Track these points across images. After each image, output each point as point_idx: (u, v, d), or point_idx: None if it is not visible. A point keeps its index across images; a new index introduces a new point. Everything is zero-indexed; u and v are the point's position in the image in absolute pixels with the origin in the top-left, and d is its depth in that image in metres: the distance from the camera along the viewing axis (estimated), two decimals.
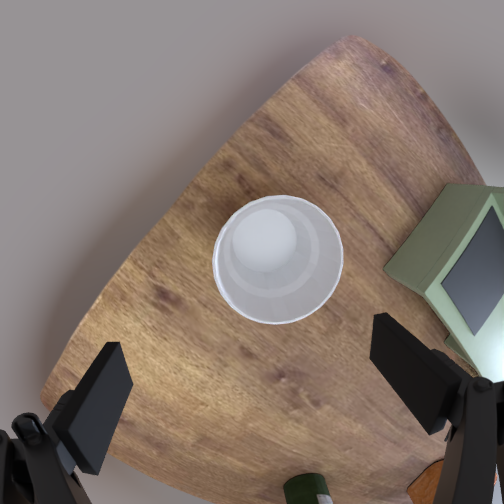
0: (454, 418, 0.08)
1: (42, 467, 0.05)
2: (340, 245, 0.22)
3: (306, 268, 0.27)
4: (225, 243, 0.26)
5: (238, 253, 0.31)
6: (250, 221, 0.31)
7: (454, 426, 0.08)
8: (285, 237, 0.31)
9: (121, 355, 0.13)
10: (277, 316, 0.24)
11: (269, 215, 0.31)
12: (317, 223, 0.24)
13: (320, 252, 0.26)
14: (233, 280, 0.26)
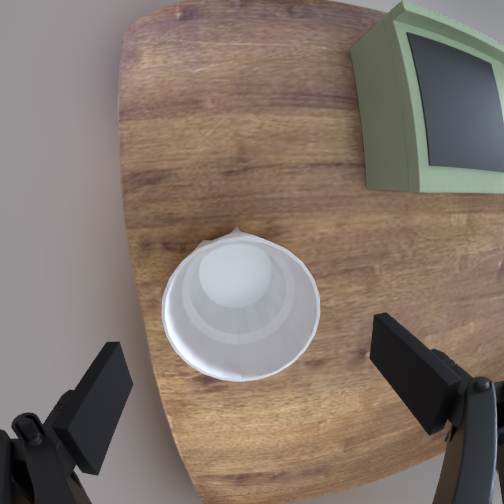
0: (454, 418, 0.08)
1: (42, 467, 0.05)
2: (280, 249, 0.17)
3: (285, 275, 0.23)
4: (195, 324, 0.22)
5: (225, 304, 0.28)
6: (208, 271, 0.27)
7: (454, 426, 0.08)
8: (249, 254, 0.27)
9: (121, 356, 0.13)
10: (290, 351, 0.20)
11: (217, 251, 0.27)
12: None
13: (280, 255, 0.21)
14: (232, 344, 0.23)
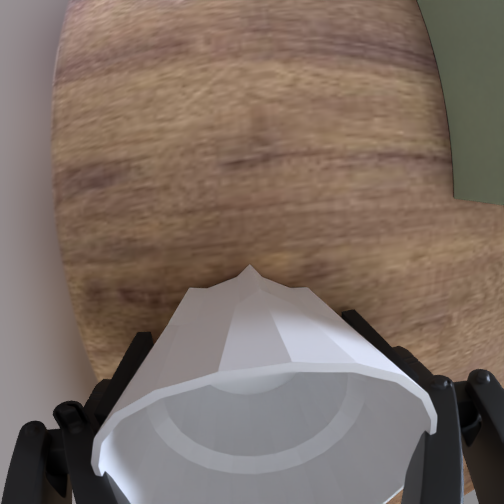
0: None
1: (81, 456, 0.06)
2: (390, 377, 0.05)
3: None
4: (178, 451, 0.10)
5: (231, 388, 0.16)
6: None
7: None
8: None
9: (152, 345, 0.14)
10: (352, 503, 0.08)
11: None
12: None
13: None
14: (245, 476, 0.11)
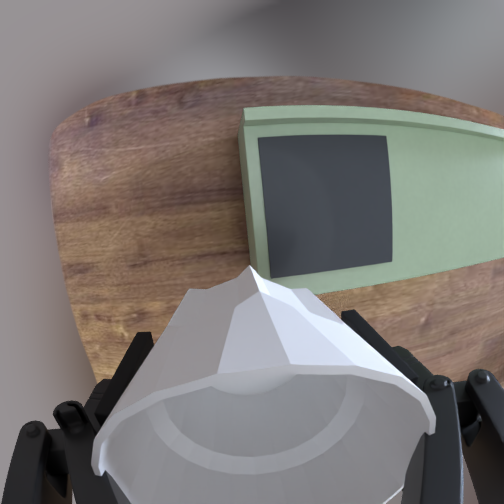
0: None
1: (81, 456, 0.06)
2: (389, 379, 0.05)
3: None
4: (178, 451, 0.10)
5: (231, 389, 0.16)
6: None
7: None
8: None
9: (152, 345, 0.14)
10: None
11: None
12: None
13: None
14: (244, 476, 0.11)
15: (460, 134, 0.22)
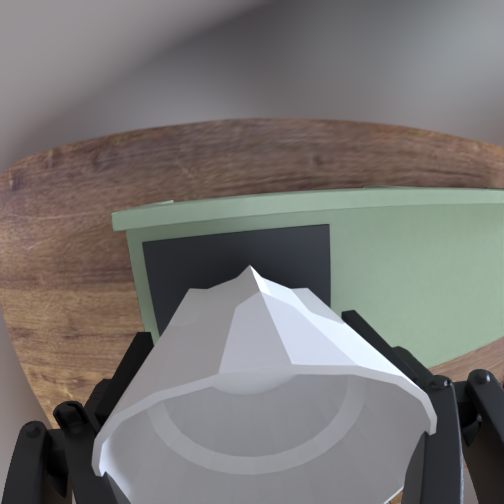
0: None
1: (81, 456, 0.06)
2: (390, 379, 0.05)
3: None
4: (178, 451, 0.10)
5: (231, 389, 0.16)
6: None
7: None
8: None
9: (152, 345, 0.14)
10: None
11: None
12: None
13: None
14: (245, 476, 0.11)
15: None
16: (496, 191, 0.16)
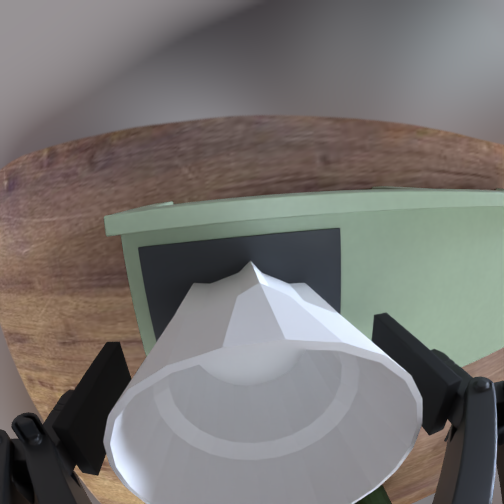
0: (454, 418, 0.08)
1: (42, 467, 0.05)
2: (374, 357, 0.06)
3: (341, 359, 0.12)
4: (182, 436, 0.11)
5: (232, 380, 0.17)
6: None
7: (454, 426, 0.08)
8: None
9: (121, 355, 0.13)
10: (347, 487, 0.09)
11: None
12: None
13: None
14: (245, 461, 0.12)
15: None
16: None
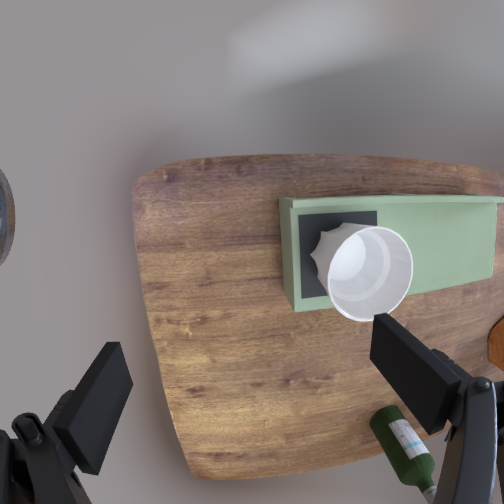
0: (454, 418, 0.08)
1: (42, 467, 0.05)
2: (396, 234, 0.28)
3: (383, 254, 0.33)
4: None
5: (333, 277, 0.38)
6: None
7: (454, 426, 0.08)
8: (352, 241, 0.37)
9: (121, 356, 0.13)
10: (393, 300, 0.30)
11: None
12: (371, 229, 0.30)
13: (384, 240, 0.31)
14: (350, 301, 0.33)
15: (431, 202, 0.38)
16: (456, 196, 0.36)
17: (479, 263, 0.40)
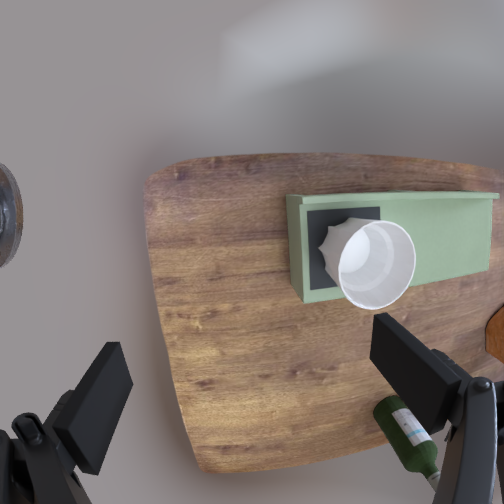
0: (454, 418, 0.08)
1: (42, 467, 0.05)
2: (400, 227, 0.30)
3: (387, 247, 0.35)
4: None
5: (340, 269, 0.40)
6: None
7: (454, 426, 0.08)
8: (357, 235, 0.39)
9: (121, 355, 0.13)
10: (397, 290, 0.32)
11: None
12: (376, 223, 0.32)
13: (388, 233, 0.34)
14: (358, 291, 0.35)
15: (430, 198, 0.40)
16: (454, 192, 0.38)
17: (476, 256, 0.43)
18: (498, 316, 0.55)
